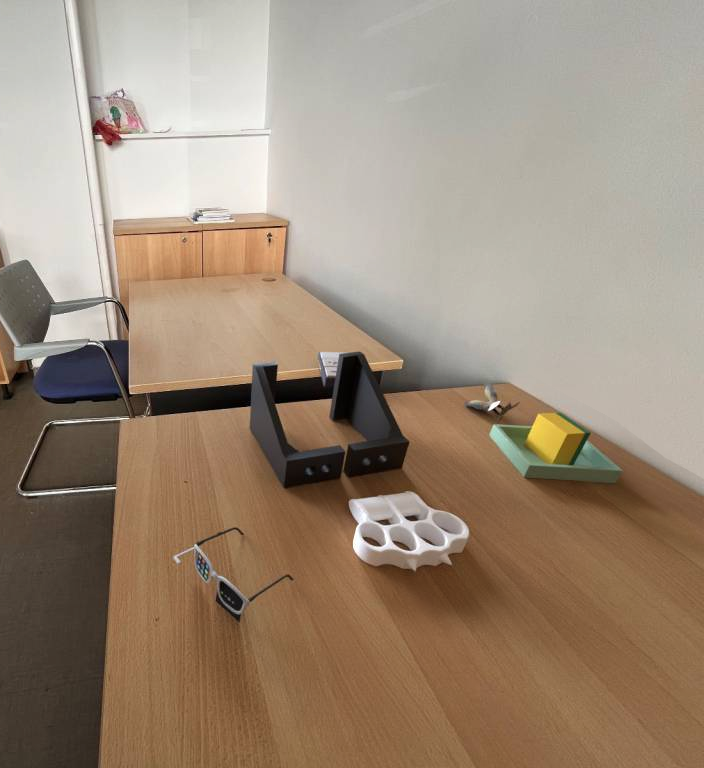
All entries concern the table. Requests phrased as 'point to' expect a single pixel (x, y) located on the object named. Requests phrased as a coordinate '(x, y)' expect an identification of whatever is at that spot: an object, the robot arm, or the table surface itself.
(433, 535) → the white brass knuckles
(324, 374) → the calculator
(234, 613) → the smart glasses
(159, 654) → the table surface
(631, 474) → the table surface
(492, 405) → the eagle figurine
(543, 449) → the sponge
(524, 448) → the tray
